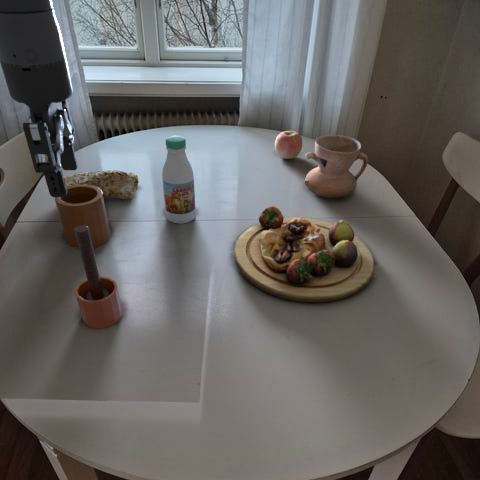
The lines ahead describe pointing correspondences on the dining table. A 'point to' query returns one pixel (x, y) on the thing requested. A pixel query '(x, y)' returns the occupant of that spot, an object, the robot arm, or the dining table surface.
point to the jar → (84, 214)
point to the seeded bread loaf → (107, 182)
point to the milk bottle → (178, 182)
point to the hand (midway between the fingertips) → (65, 182)
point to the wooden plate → (303, 258)
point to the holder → (99, 304)
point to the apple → (288, 144)
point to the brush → (90, 264)
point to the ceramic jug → (334, 166)
